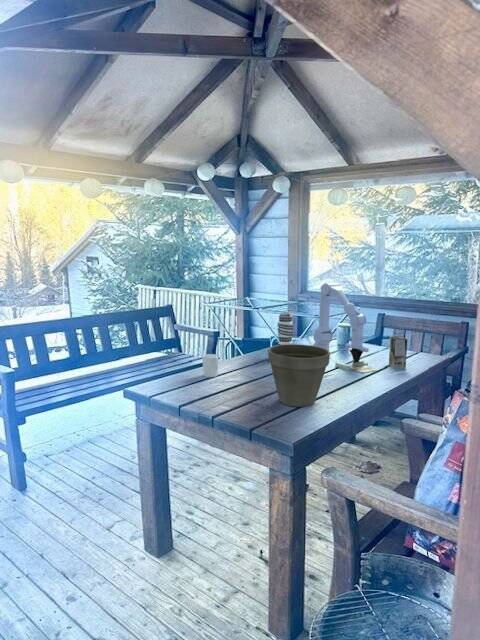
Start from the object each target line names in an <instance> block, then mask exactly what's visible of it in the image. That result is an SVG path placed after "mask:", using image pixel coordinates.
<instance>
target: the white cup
mask: <svg viewBox="0 0 480 640" xmlns="http://www.w3.org/2000/svg"><path fill="white" fill-rule="evenodd" d="M201 358H202V369H203V370H202V371H203V376H204V377H205V378H216V377H217V376H218V368H219V354H215V353H214V354H213V353H208V354H207V353H206V354H203V355H202V356H201Z"/></svg>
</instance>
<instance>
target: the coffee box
mask: <svg viewBox="0 0 480 640" xmlns="http://www.w3.org/2000/svg"><path fill="white" fill-rule="evenodd" d="M389 337H390V338H389V355H388V356H389V357H388V366H389V367H391V368H392V369H393V370H407V369H406V368H407V366H406V365H407V351H408V350H407V349H408V338H405V337H404V336H400V335H399V336H397V335H395V336H389Z"/></svg>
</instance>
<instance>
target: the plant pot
mask: <svg viewBox="0 0 480 640" xmlns="http://www.w3.org/2000/svg"><path fill="white" fill-rule="evenodd" d="M267 349H268V350H267V359H268V363H269V364H270V365H271V366H270V367H271V371H272V376H273V379H274V384H275V388H276V392H277V398H278V400H279V402H280V403H281V404H283V405H285V406H287V407H296V408H304V407H310V406H312V405H314V404H315V402H316V400H317V397H318V394H319V390H320V387H321V386H322V385H321V384H322V382H323V379H324V376H325V372H326V368H327V367H328V366H329V364H330V359H329V358H330V357H331V352H330V350H329V351H328V350H326V349H324V348H321V347H316V346H313V345H309V344H297V343H296V344H294V343H292V344H286V345H278V344H277V345H274V346H271V347H269V348H267Z"/></svg>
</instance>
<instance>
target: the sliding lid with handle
mask: <svg viewBox="0 0 480 640" xmlns="http://www.w3.org/2000/svg"><path fill="white" fill-rule="evenodd" d="M364 362H365V361H364V360H360V361H358V362H353V361H352V363H353V364H352V367H350V370H351V371H354V372H357V373H360V374H367V373H372V372H377V371H378V369H376V368H373V367H371V366H369V365H368V366H366V365H363V364H364ZM350 370H349V371H350Z"/></svg>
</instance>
